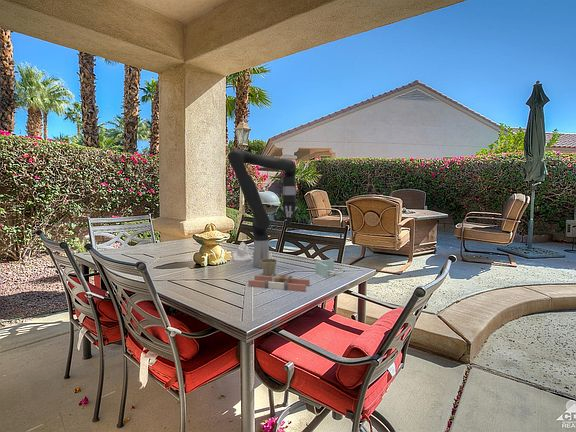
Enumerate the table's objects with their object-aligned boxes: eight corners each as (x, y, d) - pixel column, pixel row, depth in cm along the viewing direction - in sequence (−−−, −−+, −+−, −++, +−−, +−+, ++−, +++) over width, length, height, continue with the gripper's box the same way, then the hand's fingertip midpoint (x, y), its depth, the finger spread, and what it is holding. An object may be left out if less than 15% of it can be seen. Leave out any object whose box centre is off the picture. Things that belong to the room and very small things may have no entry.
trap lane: (247, 286, 157) (247, 278, 156) (255, 280, 168) (255, 272, 167) (305, 292, 149) (305, 283, 148) (309, 284, 160) (309, 277, 159)
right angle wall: (326, 279, 171) (326, 266, 170) (315, 273, 182) (315, 261, 181) (344, 276, 176) (344, 263, 175) (332, 271, 186) (333, 259, 186)
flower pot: (280, 274, 179) (279, 259, 178) (272, 278, 170) (272, 263, 169) (265, 272, 183) (265, 258, 182) (257, 276, 174) (257, 261, 173)
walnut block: (274, 287, 156) (274, 277, 155) (277, 283, 162) (277, 274, 161) (287, 288, 154) (287, 278, 154) (290, 284, 160) (290, 275, 160)
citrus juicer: (256, 261, 214) (258, 243, 210) (239, 267, 204) (241, 248, 199) (245, 254, 222) (247, 236, 217) (228, 260, 211) (229, 241, 207)
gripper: (276, 194, 178) (276, 223, 180) (298, 194, 175) (298, 224, 176) (280, 194, 185) (280, 222, 187) (301, 194, 182) (301, 223, 184)
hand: (289, 223), depth 182 cm, fingers closed
